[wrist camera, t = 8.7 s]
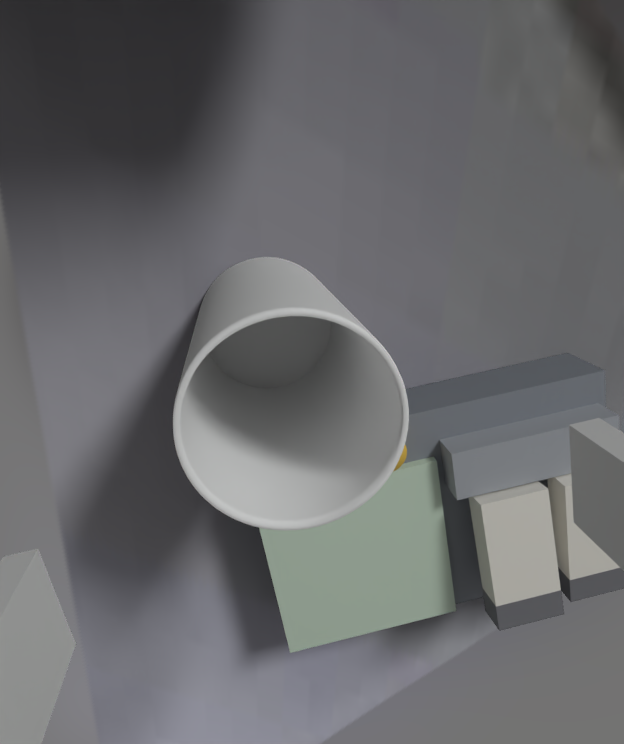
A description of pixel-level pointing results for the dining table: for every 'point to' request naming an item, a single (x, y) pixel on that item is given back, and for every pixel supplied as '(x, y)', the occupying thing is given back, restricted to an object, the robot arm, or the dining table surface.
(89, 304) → the dining table surface
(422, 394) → the panel
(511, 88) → the dining table surface
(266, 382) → the cup
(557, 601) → the light grey rectangular block
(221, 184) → the dining table surface
